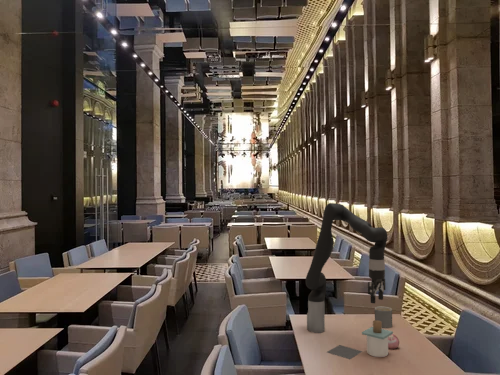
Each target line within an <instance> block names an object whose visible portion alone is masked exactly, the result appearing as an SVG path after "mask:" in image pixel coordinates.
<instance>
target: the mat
mask: <svg viewBox="0 0 500 375" xmlns="http://www.w3.org/2000/svg"><path fill="white" fill-rule="evenodd" d="M326 353H327V354H331V355H334V356H337V357H340V358H345V359H348V360H352V359H353V358H355V357H356V356H359V354H361V353H363V350H359V349H355V348H352V347H348V346H345V345H342V344H339V345H337V346H335V347H333V348H331V349H329V350H327V351H326Z"/></svg>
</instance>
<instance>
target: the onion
mask: <svg viewBox="0 0 500 375" xmlns="http://www.w3.org/2000/svg"><path fill="white" fill-rule="evenodd" d="M399 346H400V340H399V338H398V336H396V334H394V333H393V334H392V335H390V336H388V350H394V349H395V350H397V348H398V347H399Z"/></svg>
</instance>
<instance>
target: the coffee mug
mask: <svg viewBox="0 0 500 375" xmlns="http://www.w3.org/2000/svg"><path fill="white" fill-rule="evenodd" d="M374 320H378V321H381V322H382V329H391V328H393V309H392V308H391V307H390V306H389V307H388V306H383V305H382V306H376V307H374Z"/></svg>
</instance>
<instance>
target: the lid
mask: <svg viewBox="0 0 500 375" xmlns="http://www.w3.org/2000/svg"><path fill="white" fill-rule="evenodd" d="M392 334H393V335H394V332H393V330H389V329H385V328H382V322H381V321H378V320H375V319H374V320H373V321H372V326H370V327H369V328H367V329H365V330H363V331H361V335H363V336H366V337H367V336H371V337H375V338H379V339H385V338H387V337H388V336H390V335H392Z"/></svg>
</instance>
